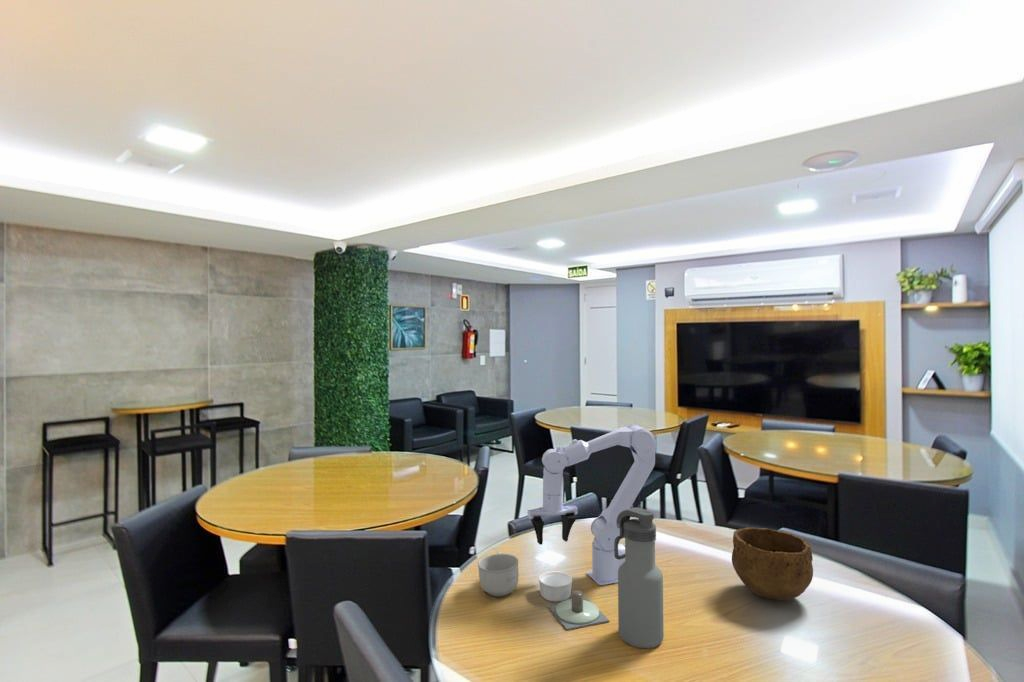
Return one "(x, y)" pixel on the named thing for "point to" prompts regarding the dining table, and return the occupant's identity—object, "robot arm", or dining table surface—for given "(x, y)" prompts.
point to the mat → (567, 625)
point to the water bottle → (639, 581)
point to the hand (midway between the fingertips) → (552, 541)
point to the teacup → (498, 573)
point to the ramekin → (555, 586)
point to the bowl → (772, 562)
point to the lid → (577, 609)
